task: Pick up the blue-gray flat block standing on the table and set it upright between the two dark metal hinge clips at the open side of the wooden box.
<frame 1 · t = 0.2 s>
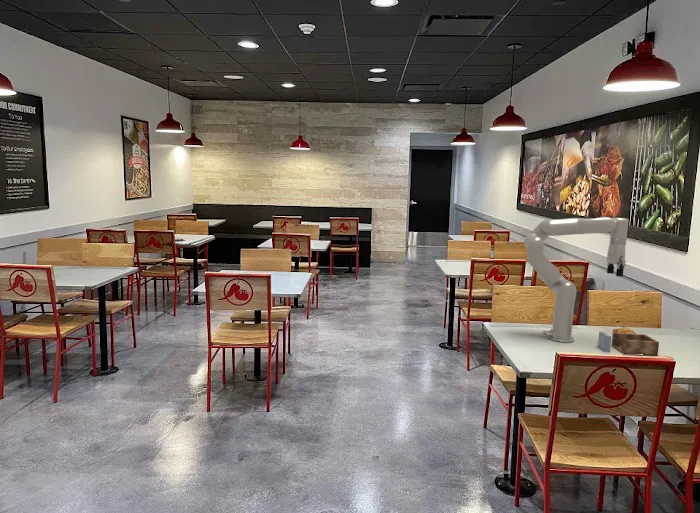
hand: (614, 274, 268), 36 cm above the table, tool pointing down, fingers open, 9 cm apart
blue-gray flat block: (603, 349, 260), on the table
croissant: (625, 340, 280), on the table
wooden box: (633, 351, 259), on the table
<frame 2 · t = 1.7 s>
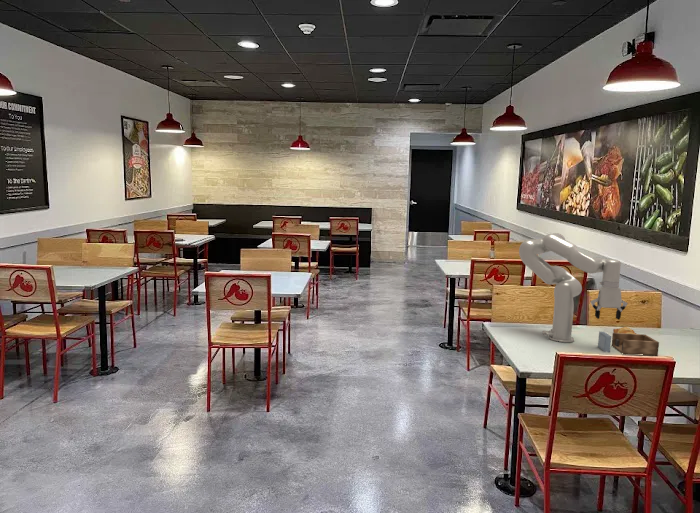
hand: (607, 318, 258), 16 cm above the table, tool pointing down, fingers open, 9 cm apart
nothing on the table moved.
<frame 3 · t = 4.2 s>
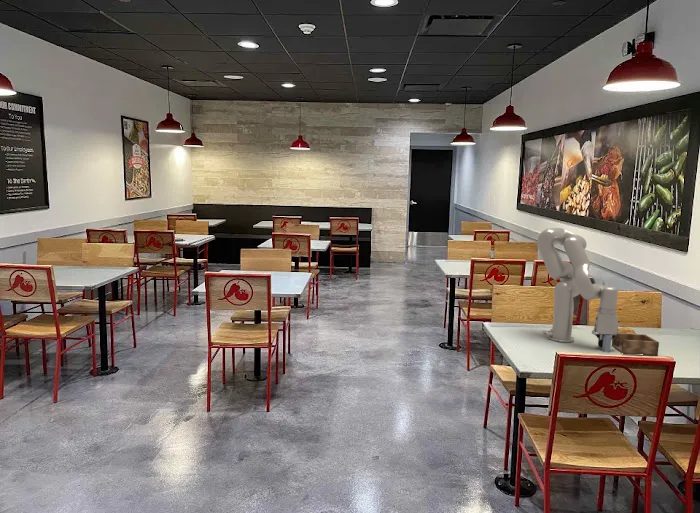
hand: (603, 346, 260), 1 cm above the table, tool pointing down, fingers closed on blue-gray flat block, 2 cm apart
blue-gray flat block: (603, 349, 260), on the table, touching gripper
everything else where it was.
when the fingers open (4 cm above the table, at t = 9.2 s): blue-gray flat block drops 1 cm, resting on wooden box.
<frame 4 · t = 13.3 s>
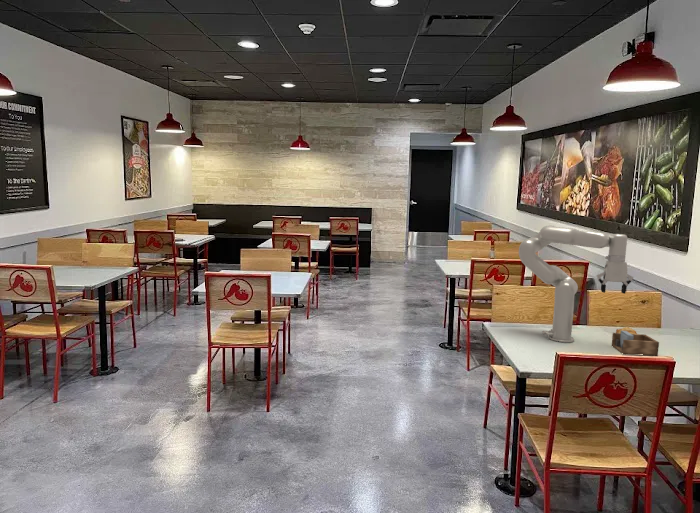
hand: (613, 292, 260), 28 cm above the table, tool pointing down, fingers open, 9 cm apart
blue-gray flat block: (625, 348, 259), point 1 cm above the table, touching wooden box
at the end: blue-gray flat block 0.0 cm from the target spot on the wooden box, point 1.0 cm above the wooden box's base; blue-gray flat block tilted 0°; the gripper is holding nothing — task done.
